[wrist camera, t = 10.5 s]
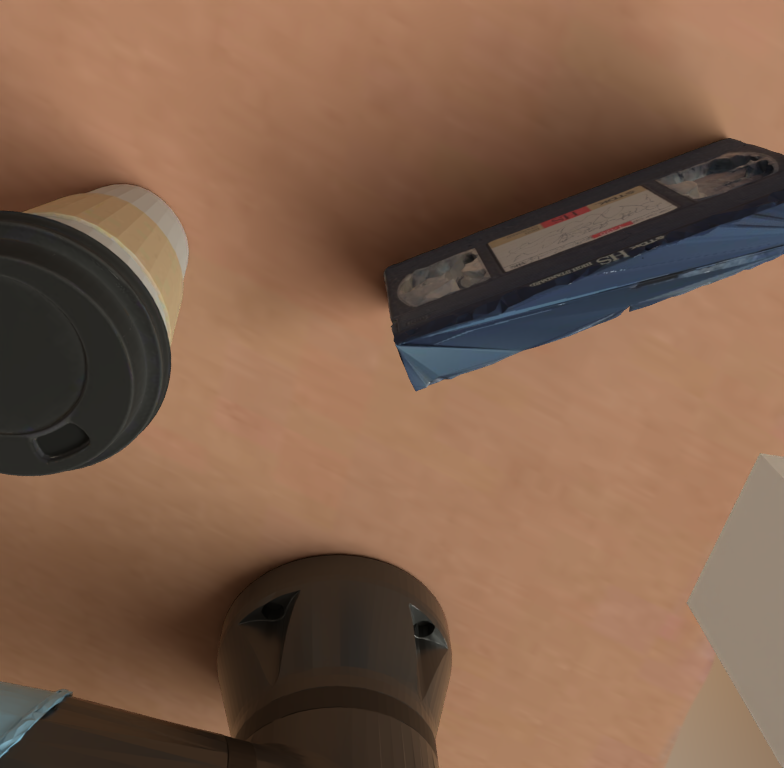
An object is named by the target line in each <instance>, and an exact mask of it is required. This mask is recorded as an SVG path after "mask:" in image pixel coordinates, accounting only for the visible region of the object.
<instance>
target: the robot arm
mask: <svg viewBox="0 0 784 768" xmlns="http://www.w3.org/2000/svg"><path fill="white" fill-rule="evenodd" d="M687 604H688V606H689V607H690V609H691V611H692V613H693V614H694V616H695V618H696V620H697V621H698V623H699V625H700V627H701V628H702V630H703V632H704V633H705V635H706V637H707V639H708V640H709V642H710V644H711V646H712V647H713V649H714V651H715V653H716V654H717V656H718V658H719V659H720V661H721V663H722V664H723V666H724V668H725V670H726V672H727V673H728V675H729V677H730V679H731V680H732V682H733V684H734V686H735V687H736V689H737V691H738V692H739V694H740V696H741V698H742V699H743V701H744V703H745V705H746V706H747V708H748V710H749V712H750V713H751V715H752V717H753V718H754V720H755V722H756V724H757V725H758V727H759V729H760V730H761V732H762V734H763V735H764V738H765V739H766V741H767V743H768V744H769V746H770V748H771V750H772V751H773V753H774V755H775V757H776V758H777V760H778V762H779V764H780V765H781V767H782V768H784V457H781V456H774V455H768V454H761V453H760V454H759V456H758V458H757V460H756V462H755V464H754V466H753V468H752V470H751V472H750V474H749V477H748V479H747V481H746V483H745V485H744V487H743V489H742V491H741V493H740V495H739V497H738V499H737V501H736V503H735V505H734V507H733V509H732V511H731V513H730V515H729V517H728V519H727V521H726V523H725V525H724V528H723V530H722V532H721V534H720V536H719V538H718V540H717V542H716V544H715V546H714V548H713V550H712V552H711V554H710V556H709V558H708V560H707V562H706V564H705V566H704V568H703V570H702V572H701V574H700V576H699V579H698V581H697V583H696V585H695V587H694V589H693V591H692V593H691V595H690V597H689V599H688V601H687ZM451 667H452V650H451V643H450V637H449V631H448V625H447V621H446V618H445V615H444V612H443V610H442V608H441V606H440V604H439V602H438V601H437V600H436V598H435V597H434V595H433V594H432V593H431V592H430V591H429V590H428V589H427V588H426V587H425V586H424V585H423V584H422V583H421V582H420V581H418V580H417V579H416V578H414V577H413V576H411V575H410V574H408V573H406V572H405V571H403V570H401V569H399V568H397V567H394V566H392V565H390V564H387V563H384V562H381V561H377V560H374V559H369V558H364V557H358V556H348V555H328V556H318V557H311V558H306V559H301V560H298V561H294V562H291V563H288V564H285V565H283V566H280V567H278V568H276V569H274V570H272V571H270V572H268V573H266V574H264V575H263V576H261V577H260V578H258V579H257V580H255V581H254V582H253V583H251V584H250V585H249V586H248V587H247V588H246V589H245V590H244V591H243V592H242V593H241V594H240V595H239V596H238V597H237V599H236V600H235V601H234V603H233V604H232V606H231V608H230V609H229V611H228V613H227V616H226V618H225V621H224V624H223V628H222V633H221V638H220V644H219V649H218V656H217V673H218V680H219V684H220V689H221V693H222V698H223V703H224V707H225V712H226V716H227V721H228V726H229V730H230V735H231V737H228V736H224V735H222V734H218V733H214V732H210V731H205V730H201V729H197V728H193V727H189V726H185V725H180V724H176V723H172V722H168V721H164V720H160V719H156V718H152V717H149V716H145V715H141V714H137V713H133V712H130V711H126V710H122V709H118V708H114V707H110V706H107V705H103V704H99V703H95V702H91V701H87V700H84V699H80V698H76V697H72V695H73V692H72V691H69V690H66V689H61V690H58V691H56V692H53V691H48V690H43V689H38V688H33V687H27V686H22V685H17V684H12V683H7V682H2V681H0V768H439V765H438V758H437V750H436V741H435V739H436V735H437V730H438V726H439V722H440V718H441V713H442V709H443V705H444V701H445V696H446V692H447V688H448V683H449V679H450V674H451Z"/></svg>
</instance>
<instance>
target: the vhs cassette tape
mask: <svg viewBox="0 0 784 768" xmlns="http://www.w3.org/2000/svg"><path fill="white" fill-rule="evenodd" d="M782 254H784V155H782V154H780V153H776V152H773V151H770V150H767V149H764V148H761V147H758V146H755V145H751V144H746V143H743V142H741V141H738V140H735V139H731V138H728V139H724V140H721V141H718V142H715V143H712V144H709V145H707V146H704V147H701V148H698V149H695V150H692V151H690V152H687V153H685V154H682V155H679V156H677V157H674V158H671V159H669V160H666V161H663V162H661V163H658V164H656V165H653V166H650V167H648V168H645V169H642V170H639V171H637V172H634V173H631V174H629V175H626V176H623V177H621V178H618V179H615V180H613V181H610V182H608V183H605V184H603V185H600V186H597V187H595V188H592V189H590V190H587V191H584V192H582V193H579V194H577V195H574V196H571V197H568V198H566V199H563V200H561V201H558V202H556V203H553V204H550V205H548V206H545V207H543V208H540V209H537V210H535V211H532V212H529V213H527V214H524V215H521V216H519V217H516V218H513V219H511V220H508V221H506V222H503V223H501V224H498V225H495V226H493V227H490V228H487V229H485V230H482V231H479V232H477V233H474V234H472V235H470V236H467V237H465V238H462V239H460V240H457V241H454V242H452V243H449V244H447V245H444V246H442V247H439V248H437V249H434V250H431V251H429V252H426V253H423V254H421V255H418V256H416V257H413V258H411V259H408V260H406V261H403V262H401V263H398V264H394V265H392V266H390V267H388V268H387V269H386V270H385V271H384V275H383V276H384V282H385V284H386V286H385V287H386V291H387V296H388V304H389V312H390V318H391V321H392V323H393V325H392V326H391V327H392V332H393V335H394V342H395V344H396V347H397V349H398V352H399V355H400V357H401V360H402V362H403V364H404V367H405V369H406V371H407V374H408V377H409V379H410V381H411V383H412V385H413V387H414V389H415V391H418V390H421V389H423V388H426V387H427V386H428V385H431V384H434V383H437V382H439V381H441V380H443V379H452V378H454V377H456V376H458V375H461V374H464V373H467V372H470V371H473V370H477V369H480V368H482V367H485V366H488V365H491V364H494V363H496V362H498V361H500V360H502V359H504V358H507V357H509V356H511V355H514V354H516V353H518V352H521V351H523V350H527V349H530V348H534V347H537V346H541V345H544V344H547V343H550V342H553V341H556V340H559V339H562V338H565V337H568V336H570V335H573V334H575V333H578V332H580V331H583V330H585V329H588V328H590V327H593V326H595V325H598V324H600V323H603V322H606V321H608V320H611V319H613V318H616V317H617V316H619V315H621V313H622V312H623V311H624V310H625V309H627V308H628V307H629V306H630V309H629V312H630V311H633V310H637V309H640V308H643V307H646V306H650V305H652V304H655V303H657V302H660V301H662V300H665V299H667V298H670V297H674V296H678V295H681V294H684V293H687V292H689V291H691V290H694V289H696V288H698V287H701V286H704V285H708V284H711V283H713V282H716V281H718V280H721V279H724V278H726V277H729V276H732V275H735V274H737V273H739V272H741V271H742V270H748V269H751V268H754V267H756V266H758V265H760V264H762V263H764V262H768V261H771V260H773V259H775V258H777V257H779V256H781V255H782Z"/></svg>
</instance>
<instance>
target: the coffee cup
mask: <svg viewBox="0 0 784 768" xmlns="http://www.w3.org/2000/svg"><path fill="white" fill-rule="evenodd" d="M188 254H189V249H188V242H187V237H186V235H185V232H184V229H183V227H182V225H181V223H180V221H179V219H178V217H177V216H176V215H175V213H174V212H173V211H172V209H171V208H170V207H169V206H168V205H167V204H166V203H165V202H164V201H163V200H162V199H161V198H159V197H158V196H157V195H155V194H154V193H152V192H151V191H149V190H146V189H144V188H142V187H139V186H135V185H129V184H114V185H109V186H105V187H101V188H98V189H96V190H93V191H90V192H87V193H80V194H75V195H71V196H67V197H63V198H60V199H57V200H54V201H52V202H49V203H46V204H43V205H41V206H38V207H35V208H32V209H29V210H27V211H24V212H14V211H0V473H2V474H8V475H17V476H41V475H49V474H55V473H60V472H64V471H70V470H75V469H80V468H83V467H87V466H90V465H93V464H96V463H98V462H101V461H103V460H105V459H107V458H109V457H111V456H113V455H114V454H116V453H118V452H119V451H121V450H122V449H123V448H125V447H126V446H127V445H129V444H130V443H131V442H132V441H133V440H134V439H135V438H136V437H137V436H138V435H139V434H140V433H141V432H142V431H143V430H144V429H145V428H146V427H147V426H148V425H149V423H150V422H151V421H152V419H153V418H154V417H155V415H156V414H157V412H158V410H159V408H160V407H161V404H162V402H163V400H164V398H165V395H166V391H167V388H168V384H169V379H170V372H171V351H170V346H171V342H172V338H173V334H174V330H175V326H176V322H177V318H178V314H179V310H180V306H181V302H182V297H183V286H184V282H183V279H184V275H185V271H186V267H187V263H188Z"/></svg>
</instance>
